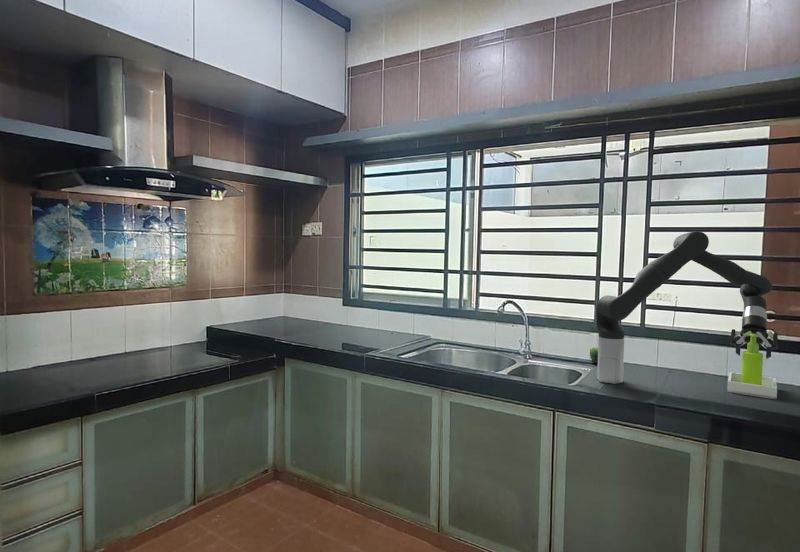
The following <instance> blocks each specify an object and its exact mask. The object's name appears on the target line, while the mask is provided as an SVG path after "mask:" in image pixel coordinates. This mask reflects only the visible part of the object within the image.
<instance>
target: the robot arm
mask: <svg viewBox="0 0 800 552" xmlns="http://www.w3.org/2000/svg"><path fill="white" fill-rule="evenodd" d="M709 243H710V241H709V237H708V235H707V234H706V233H704V232H703V231H698V230H695V231H689V232H687V233H684V234H680V235H678V236H676V237H675V239H674V241H673V242H672V246H673V249H671V250H670V251H668V252H667V253H665V254H663V255H661V256H658V257H657V258H655V259H654V260H652V261H650V262H649V263H647V265H645V266H644V267H643V268H641V269H640V270H639V272H638V273H637V274H636V276H635V278H634V279H633V283H632V284H631V286H630V287H629V288H628V289H627V290H625V291H624V292H623V293H622V294H620V295H618V296H616V295H615V296H614V295H604V296H601V297H599V299H598V301H597V304H596V311H595V313H596V315H595V319H596V321H595V322H596V328H597V329H596V330H597V332H598V341H597V342H598V344H597V345H598V346H597V347H598V364H597V380H598V382H600V383H607V384H613V385H616V384H623V382H624V358H625V357H624V355H625V330H624V329H623V328H622V327H621V326H620V324H619V321H623V320H625V319H626V318H627V317H628V316H630V315H631V314H632V313H633V312H634V310H635V309H636V308H637V307H638V306H639V305H640V304H641V303H642V302H643V301H645V300H646V298H648V297H649V296H650V295H651V294H652V293H654V292H655V291H656V290H657V289H658V288H660V287H661V286H662V285H664V284H665V283H666V282H668V280H669V279H670V278H671V277H673V276H674V275H675V274H676V273H677V272H678V271H679V270H681V269H682V268H683V267H685V265H686V264H688V263H689V262H690V261H692V262H694V263H696V264H697V265H701V266H703V267H704V268H705V269H706V268H707V269H709V270H710V271H712V272H713V273H715V274H717V275H718V276H720V277H721V278H723V279H725V280H726V281H728V282H729V283H730V284H732V285H734V286H740V287H739V293H740V296H741V298H742V302H743V310H742V319H741V322H742V323H741V330H739V331H738V330H736V329H733V328H732V329H731V330H730V331H731V333H730V340H729V341H730V342H729V343H730V346H734V347H735V354H736V355H737V356H741V347H742V346H743V345H746V344H747V343H749V342H750V339H751V336H749V335H743V333H753V334H757V335H759V337H756V343H758V344H759V345H761V346H762V347H763V348H764V349H766V350H765V359H768V360H769V358H771V357H772V350H773V351H778V347H779V341H778V340H779V339H778V338H779V336H778V333H777V332H774V333H768V331H767V329H768V314H767V301H766V299H765V298H764V297H763V296H764V295H767V294H769V293H771V292H772V290H773V283H772V282H771V281H770V280H769V279H768V278H767V277H765V276H763V275H761V274H758V273H756V272H752V271H749V270H747V269H745V268H743V267H741V266H740V265H738V264H737V263H736V262H734V261H732V260H730V259H728V258H725V257H722V256H719V255H716V254H714V253H711V252H709V251H707V249H708V248H709V245H710V244H709ZM738 336H740V338H739V339H738V340H736V338H737V337H738ZM768 338H769V339H770V340H771V341H772V344H770V342H769V341H768Z"/></svg>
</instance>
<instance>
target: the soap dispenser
mask: <svg viewBox="0 0 800 552" xmlns="http://www.w3.org/2000/svg"><path fill="white" fill-rule="evenodd" d="M743 335H749V336H751V339H750V342H749V343H748V342H747V343H746V344H747V345H746V347H747V349H746V351H742V366H741V368H742V369H741V371H742V372H741V374H742V383H747V384H755V385H762V376H763V365H764V354H763V352H760V343H759V344H758V343H756V337H759V335H757V334H753V333H743Z"/></svg>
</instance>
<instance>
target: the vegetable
mask: <svg viewBox="0 0 800 552" xmlns="http://www.w3.org/2000/svg"><path fill="white" fill-rule="evenodd" d="M589 350H590V351H589V357H590V359H591V361H592V362H594V363H595V364H597V365H598V346H596V347H595V346H593V347H591V348H590V349H589Z"/></svg>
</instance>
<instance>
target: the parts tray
mask: <svg viewBox="0 0 800 552" xmlns="http://www.w3.org/2000/svg"><path fill="white" fill-rule="evenodd" d="M726 391H727V393H732V394H737V395H743V396H744V395H745V396H751V397H757V398H758V397H759V398H762V399H769V400H770V399H771V400H778V399H777V397H778V385H777V379H776V377H769V376H763V375H762V385H755V384H747V383H742V373H737V372H732V371H729V373H728V377H727V389H726Z"/></svg>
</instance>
